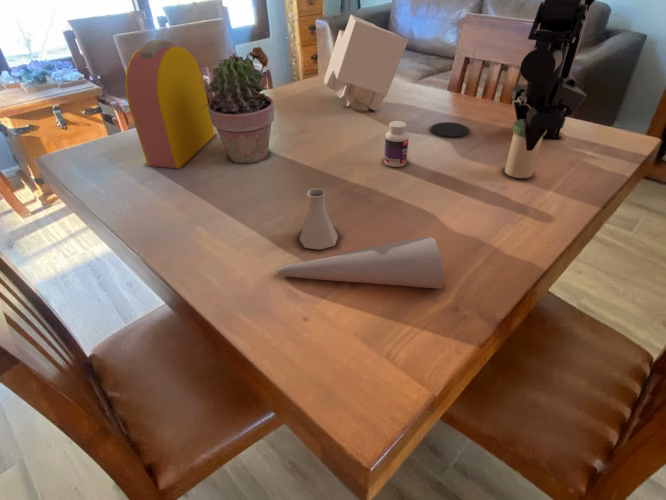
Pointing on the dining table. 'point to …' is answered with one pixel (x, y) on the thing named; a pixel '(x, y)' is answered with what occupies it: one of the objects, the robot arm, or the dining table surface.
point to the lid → (521, 128)
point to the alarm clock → (167, 103)
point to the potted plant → (241, 107)
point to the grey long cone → (379, 265)
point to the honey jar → (521, 158)
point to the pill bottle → (396, 144)
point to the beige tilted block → (364, 62)
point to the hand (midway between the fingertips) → (526, 144)
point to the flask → (317, 223)
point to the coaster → (450, 130)
